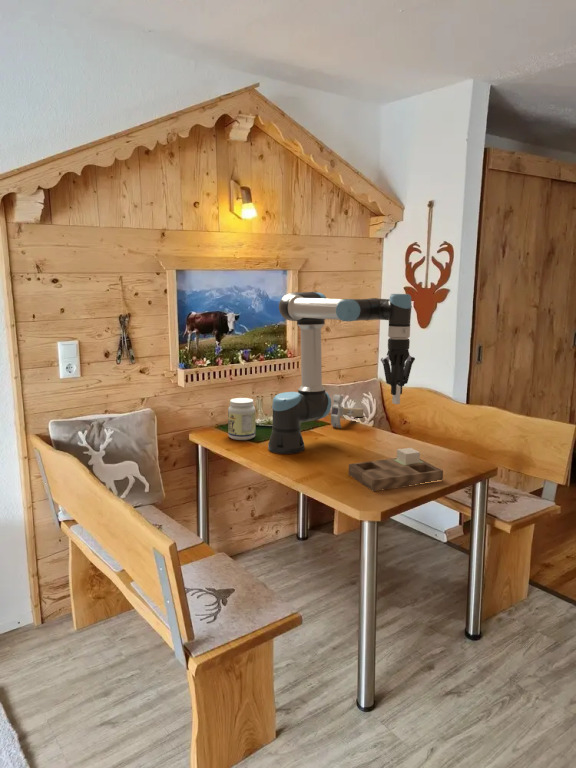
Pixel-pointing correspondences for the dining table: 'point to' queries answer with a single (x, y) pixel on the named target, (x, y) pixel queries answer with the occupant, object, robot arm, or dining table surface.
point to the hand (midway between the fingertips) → (396, 403)
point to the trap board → (393, 473)
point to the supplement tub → (241, 419)
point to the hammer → (342, 411)
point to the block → (408, 456)
